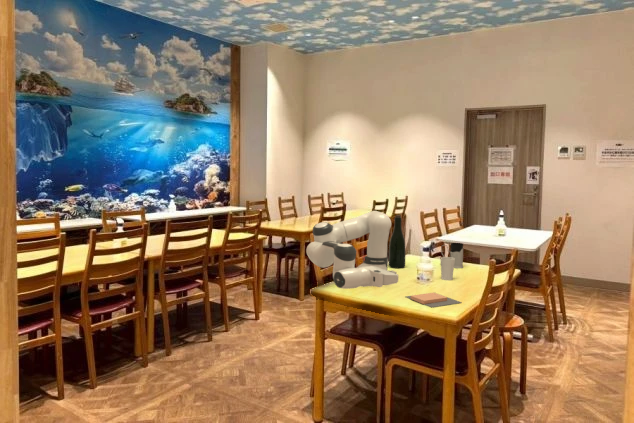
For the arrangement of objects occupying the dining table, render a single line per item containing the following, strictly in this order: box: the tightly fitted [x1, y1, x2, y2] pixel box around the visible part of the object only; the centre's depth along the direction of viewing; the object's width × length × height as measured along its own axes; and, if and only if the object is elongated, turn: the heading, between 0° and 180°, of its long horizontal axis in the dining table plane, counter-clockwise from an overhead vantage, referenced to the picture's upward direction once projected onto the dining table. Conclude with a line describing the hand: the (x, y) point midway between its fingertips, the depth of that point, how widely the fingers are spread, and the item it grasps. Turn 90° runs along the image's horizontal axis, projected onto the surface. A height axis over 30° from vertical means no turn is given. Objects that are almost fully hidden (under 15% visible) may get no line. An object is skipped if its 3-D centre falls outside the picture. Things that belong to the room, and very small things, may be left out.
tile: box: [410, 292, 447, 305], centre depth 241 cm, size 2×10×14 cm
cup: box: [440, 256, 455, 281], centre depth 286 cm, size 8×8×12 cm
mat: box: [404, 292, 462, 308], centre depth 242 cm, size 18×20×1 cm
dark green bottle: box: [388, 214, 406, 269], centre depth 317 cm, size 10×10×33 cm
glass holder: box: [440, 242, 464, 269], centre depth 320 cm, size 9×14×15 cm, turn 69°
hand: (394, 272), depth 229 cm, fingers closed
